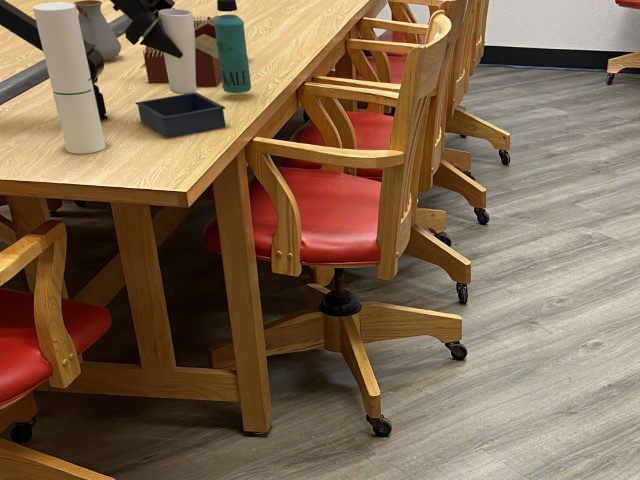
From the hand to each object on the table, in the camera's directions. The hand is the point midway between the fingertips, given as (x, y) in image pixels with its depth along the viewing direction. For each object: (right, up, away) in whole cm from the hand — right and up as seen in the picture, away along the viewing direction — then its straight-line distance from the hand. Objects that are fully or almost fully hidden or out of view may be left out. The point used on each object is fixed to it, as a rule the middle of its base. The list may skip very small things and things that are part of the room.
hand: (185, 52), depth 194 cm
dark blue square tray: (-2, -13, +5) cm, 14 cm away
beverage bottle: (+5, 0, +22) cm, 23 cm away
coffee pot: (-35, +16, +43) cm, 57 cm away
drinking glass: (-2, -6, +4) cm, 8 cm away
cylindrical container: (-17, -22, -7) cm, 29 cm away
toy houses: (-9, +18, +46) cm, 50 cm away
